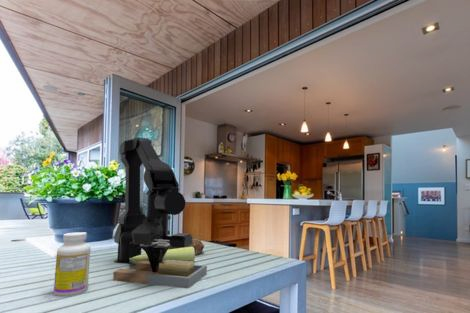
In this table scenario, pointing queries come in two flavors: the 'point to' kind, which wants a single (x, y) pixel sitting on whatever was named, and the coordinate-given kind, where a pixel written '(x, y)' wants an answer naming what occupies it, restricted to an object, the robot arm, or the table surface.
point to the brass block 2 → (183, 268)
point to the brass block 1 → (167, 267)
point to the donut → (196, 244)
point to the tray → (178, 278)
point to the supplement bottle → (72, 265)
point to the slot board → (134, 273)
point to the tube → (171, 255)
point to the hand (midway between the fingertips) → (154, 272)
